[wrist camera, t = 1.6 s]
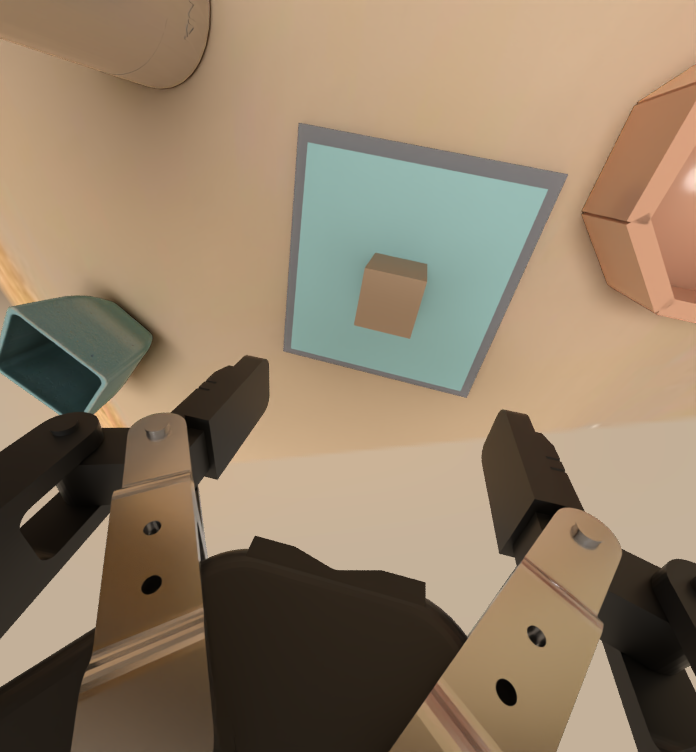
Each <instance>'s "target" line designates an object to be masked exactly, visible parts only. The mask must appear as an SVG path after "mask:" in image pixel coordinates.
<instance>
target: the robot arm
mask: <svg viewBox="0 0 696 752" xmlns="http://www.w3.org/2000/svg"><path fill="white" fill-rule="evenodd" d="M209 12H210V4H209V0H0V39H3V40H7V41H10V42H13V43H16V44H19V45H22V46H25V47H28V48H31V49H34V50H37V51H40V52H43V53H46V54H49V55H52V56H56V57H59V58H62V59H65V60H68V61H71V62H74V63H77V64H80V65H83V66H86V67H89V68H92V69H95V70H98V71H101V72H104V73H107V74H110V75H113V76H116V77H119V78H122V79H125V80H128V81H132V82H135V83H138V84H141V85H144V86H147V87H152V88H157V89H163V88H172V87H174V86H176V85H178V84H180V83H182V82H184V81H185V80H186V79H187V78H188V77H189V76H190V75H191V74H192V73H193V71H194V70H195V68H196V67H197V65H198V64H199V62H200V60H201V57H202V54H203V52H204V49H205V46H206V41H207V36H208V30H209ZM268 402H269V363H268V360H267V359H263V358H258V357H253V356H248V355H245V356H244V357H243V358H242V359H241V360H240V361H239V362H238V363H237V364H236V365H235V366H234V367H233V366H227V367H225V368H222V369H220V370H218V371H216V372H214V373H213V374H212V375H211V376H210V377H209V378H208V379H207V380H206V382H204V383H202V384H201V385H200V386H199V388H198V389H196V390H195V391H194V392H193V393H192V394H190V395H189V396H188V397H187V398H186V399H185V400H184V401H183V402H182V403H181V404H179V405H178V406H177V407H176V408H175V409H174V410H173V411H172V412H171V413H157V414H152V415H149V416H147V417H144V418H142V419H140V420H139V421H137V422H136V423H135V424H133V425H132V426H131V428H101V426H100V423H99V420H98V418H97V417H96V416H95V415H93V414H91V413H87V412H72V413H66V414H62V415H59V416H56V417H53V418H51V419H49V420H47V421H45V422H43V423H42V424H40V425H39V426H37V427H36V428H34V429H33V430H31V431H30V432H28V433H27V434H25V435H24V436H23V437H21V438H20V439H18V440H17V441H15V442H14V443H12V444H11V445H9V446H8V447H7V448H5V449H4V450H2V451H1V452H0V638H1V637H2V636H3V635H4V634H5V633H6V631H7V630H8V629H9V628H10V627H11V626H12V625H13V624H14V622H15V621H16V620H17V619H18V618H19V617H20V616H21V614H22V613H23V612H24V611H25V610H26V608H27V607H28V606H29V605H30V604H31V603H32V602H33V600H34V599H35V598H36V597H37V596H38V595H39V593H41V591H42V590H43V589H44V588H45V587H46V586H47V584H48V583H49V582H50V581H51V580H52V578H54V576H55V575H56V574H57V573H58V572H59V571H60V569H61V568H62V567H63V566H64V565H65V564H66V562H67V561H68V560H69V559H70V558H71V557H72V556H73V555H74V553H75V552H76V551H77V550H78V549H79V548H80V546H81V545H82V544H83V543H84V542H85V540H87V538H88V537H89V536H90V535H91V534H92V532H93V531H94V530H95V529H96V528H97V527H98V526H99V524H100V523H101V522H102V521H103V520H104V519H105V518H106V517H107V515H108V514H109V513H110V516H109V525H108V532H107V540H106V548H105V556H104V565H103V573H102V580H101V589H100V596H99V605H98V612H97V620H96V627H95V628H94V629H92V630H91V631H89V632H87V633H86V634H84V635H83V636H81V637H79V638H78V639H76V640H75V641H73V642H72V643H70V644H68V645H67V646H65V647H64V648H62V649H60V650H59V651H57V652H56V653H54V654H52V655H51V656H49V657H48V658H46V659H44V660H43V661H41V662H40V663H38V664H37V665H35V666H33V667H32V668H30V669H28V670H27V671H25V672H24V673H22V674H21V675H19V676H17V677H16V678H14V679H13V680H11V681H9V682H8V683H6V684H5V685H3V686H1V687H0V752H556V751H557V749H558V746H559V743H560V741H561V738H562V736H563V733H564V730H565V728H566V725H567V723H568V720H569V717H570V715H571V712H572V710H573V707H574V704H575V702H576V699H577V697H578V694H579V691H580V689H581V686H582V683H583V681H584V678H585V676H586V673H587V670H588V667H589V665H590V663H591V660H592V657H593V655H594V652H595V650H596V647H597V644H598V642H599V639H600V640H602V643H603V645H604V649H605V652H606V654H607V658H608V661H609V664H610V667H611V670H612V673H613V676H614V679H615V682H616V685H617V688H618V691H619V694H620V698H621V700H622V704H623V707H624V709H625V713H626V716H627V719H628V722H629V725H630V728H631V731H632V734H633V737H634V740H635V743H636V746H637V749H638V752H696V692H695V689H694V687H693V685H692V683H691V681H690V679H689V677H688V675H687V673H686V671H685V668H687V667H689V666H691V668H692V670H693V672H694V673H695V676H696V563H693V562H690V561H687V560H682V559H674V560H671V561H669V562H668V563H667V564H666V565H664V566H663V567H662V568H659V567H658V566H655V565H653V564H651V563H649V562H647V561H645V560H643V559H641V558H639V557H637V556H635V555H633V554H631V553H629V552H627V551H625V550H623V549H621V546H620V543H619V541H618V540H617V538H616V536H615V535H614V534H613V533H612V531H611V530H610V529H609V528H608V527H607V526H606V525H605V524H603V523H602V522H601V521H600V520H598V519H597V518H595V517H594V516H592V515H590V514H588V513H586V512H585V511H584V509H583V507H582V505H581V503H580V501H579V498H578V496H577V495H576V492H575V490H574V488H573V486H572V484H571V482H570V479H569V477H568V475H567V474H566V473H565V469H564V467H563V465H562V462H560V458H559V456H558V454H557V452H556V450H555V448H554V446H553V445H552V444H551V443H550V442H549V441H548V440H547V439H546V437H545V436H544V435H543V434H542V433H537V432H535V430H534V428H533V426H532V423H531V421H530V419H529V416H528V415H526V414H522V413H517V412H512V411H508V410H501V411H500V412H499V413H498V415H497V417H496V419H495V421H494V424H493V426H492V428H491V430H490V432H489V435H488V437H487V439H486V441H485V443H484V446H483V450H482V466H483V471H484V476H485V482H486V487H487V492H488V497H489V501H490V508H491V513H492V518H493V523H494V528H495V533H496V538H497V544H498V549H499V553H500V554H503V555H507V556H511V557H515V560H516V564H517V567H516V568H515V570H514V571H513V572H512V574H511V575H510V576H509V578H508V579H507V581H506V582H505V584H504V585H503V586H502V588H501V589H500V591H499V592H498V593H497V595H496V596H495V598H494V599H493V600H492V602H491V603H490V605H489V606H488V608H487V609H486V611H485V612H484V613H483V615H482V616H481V618H480V619H479V620H478V622H477V623H476V624H475V626H474V627H473V629H472V630H471V632H470V633H469V634H468V636H466V635H465V633H464V632H463V631H462V629H461V628H460V627H459V626H458V625H457V624H456V623H455V621H453V619H452V618H451V617H450V616H448V615H447V614H446V613H445V612H444V611H443V610H442V609H441V608H439V607H438V606H437V605H435V604H434V603H433V602H431V601H430V600H428V599H426V598H425V582H422V581H418V580H415V579H410V578H407V577H404V576H400V575H396V574H393V573H389V572H385V571H382V570H378V571H377V570H371V571H369V570H367V571H365V570H364V571H363V570H362V571H361V570H348V571H347V570H334V569H332V568H330V567H328V566H327V565H325V564H323V563H322V562H320V561H318V560H317V559H315V558H313V557H311V556H310V555H308V554H306V553H305V552H303V551H301V550H300V549H298V548H296V547H294V546H291V545H287V544H283V543H279V542H275V541H272V540H269V539H265V538H261V537H257V536H255V537H254V539H253V541H252V543H251V545H250V547H249V549H240V550H232V551H227V552H224V553H220V554H217V555H215V556H212V557H209V558H208V555H207V549H206V543H205V535H204V527H203V519H202V511H201V502H200V494H199V488H198V484H199V483H200V481H201V480H202V479H203V477H204V476H205V477H209V478H213V479H218V478H219V477H220V475H221V474H222V472H223V471H224V470H225V468H226V467H227V465H228V464H229V462H230V461H231V459H232V458H233V457H234V455H235V454H236V452H237V451H238V449H239V448H240V447H241V445H242V444H243V442H244V441H245V439H246V438H247V436H248V435H249V434H250V432H251V431H252V429H253V428H254V426H255V425H256V424H257V422H258V421H259V419H260V418H261V416H262V415H263V413H264V412H265V410H266V408H267V405H268ZM55 485H56V486H57V488H58V490H59V493H58V494H57V495H55V496H54V497H53V498H52V499H51V500H50V501H49V502H48V503H47V504H46V505H45V506H43V508H41V509H40V510H39V511H38V512H37V513H36V514H35V515H34V516H33V517H32V518H30V519H29V520H28V521H27V522H26V523H25V524H24V525H23V526H22V527H21V528H20V523H21V520H22V518H23V516H24V515H25V513H26V512H27V511H28V510H29V509H30V508H31V507H32V506H33V505H34V504H35V503H36V502H37V501H39V500H40V499H41V498H42V497H43V496H44V495H45V494H46V493H48V491H50V490H51V489H52V488H53V487H54V486H55Z"/></svg>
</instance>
